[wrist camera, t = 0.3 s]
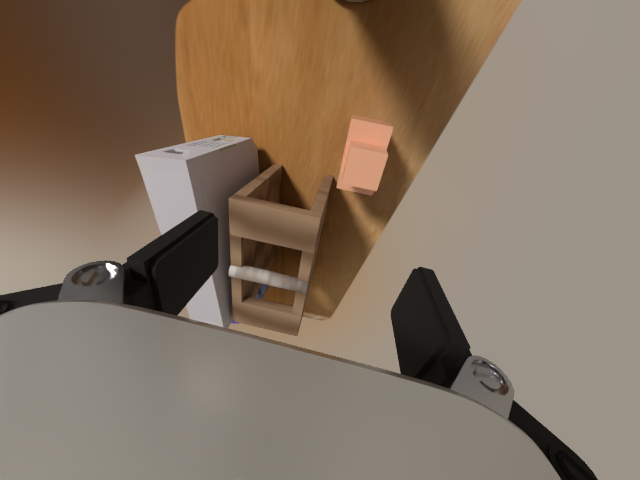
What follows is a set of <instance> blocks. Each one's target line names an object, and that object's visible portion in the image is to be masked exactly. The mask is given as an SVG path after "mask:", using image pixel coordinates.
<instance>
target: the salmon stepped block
mask: <svg viewBox="0 0 640 480" xmlns="http://www.w3.org/2000/svg"><path fill="white" fill-rule="evenodd" d="M393 128H394V127H393V126H391V125H389V124H388V123H386V122H385V121H382V120H377V119H373V118H368V117H363V116H358V115H353V114H352V119H351V123H350V128H349V132H348V137H347V141H346V146H345V150H344V155H343V160H342V164H341V169H340V173H339V178H338V182H337V187H336V188H338V189H343V190H348V191H352V192H357V193H362V194H366V195H371V196H373V192H374V191H377V189H378V186H379V183H380V180H381V177H382V173H383V170H384V167H385V164H386V161H387V158H388V155H389V154H388V153H387V147H388V144H389V141H390V138H391V135H392V131H393Z"/></svg>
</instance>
